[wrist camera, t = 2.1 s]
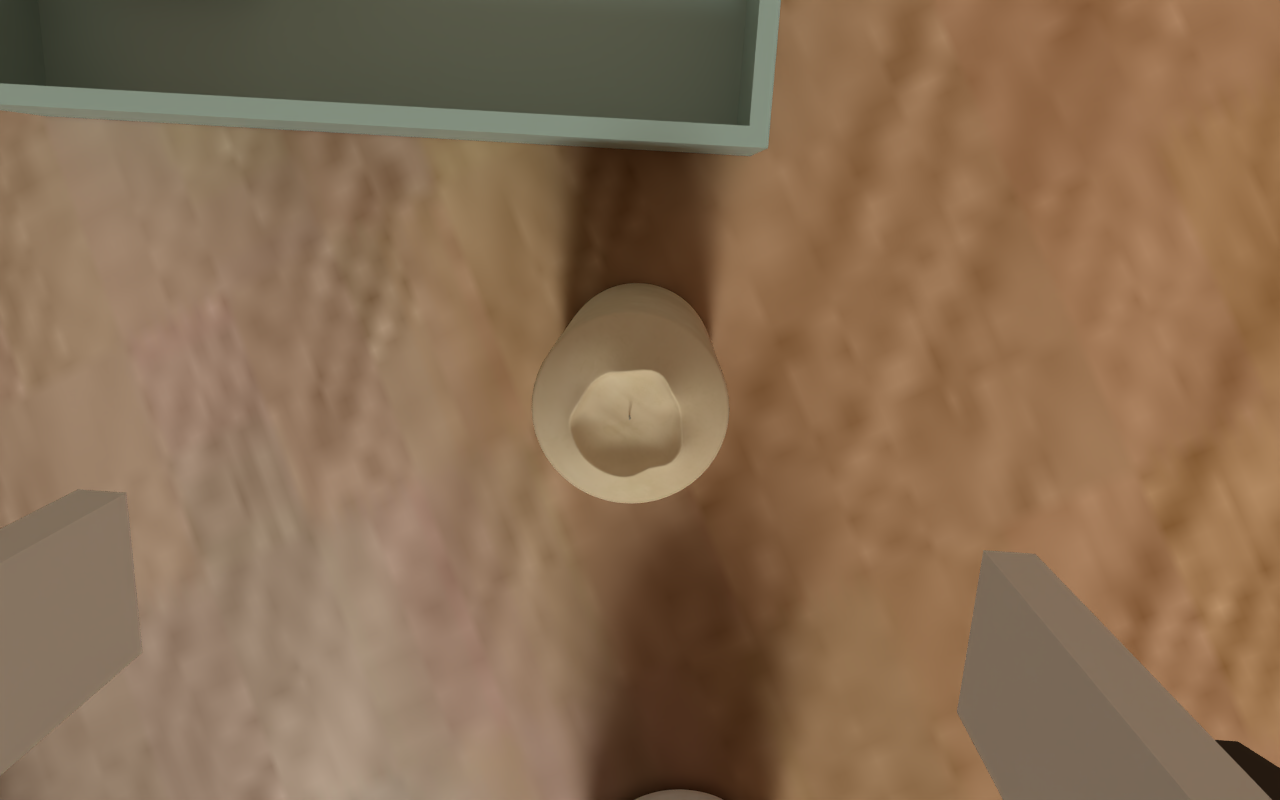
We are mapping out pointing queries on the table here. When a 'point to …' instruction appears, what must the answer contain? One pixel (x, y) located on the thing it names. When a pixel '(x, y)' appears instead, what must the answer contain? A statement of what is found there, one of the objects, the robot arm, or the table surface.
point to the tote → (408, 67)
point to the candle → (631, 396)
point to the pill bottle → (678, 795)
